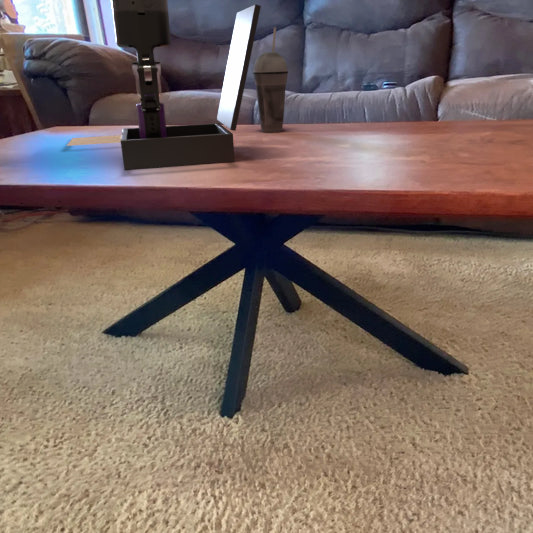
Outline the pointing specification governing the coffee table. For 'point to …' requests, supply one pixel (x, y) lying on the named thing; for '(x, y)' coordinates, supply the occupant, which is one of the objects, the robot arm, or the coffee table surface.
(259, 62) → the beverage cup
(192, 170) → the coffee table surface
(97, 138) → the cork mat
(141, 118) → the purple cylinder
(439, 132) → the coffee table surface
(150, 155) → the box
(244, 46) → the lid
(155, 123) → the robot arm
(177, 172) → the coffee table surface
